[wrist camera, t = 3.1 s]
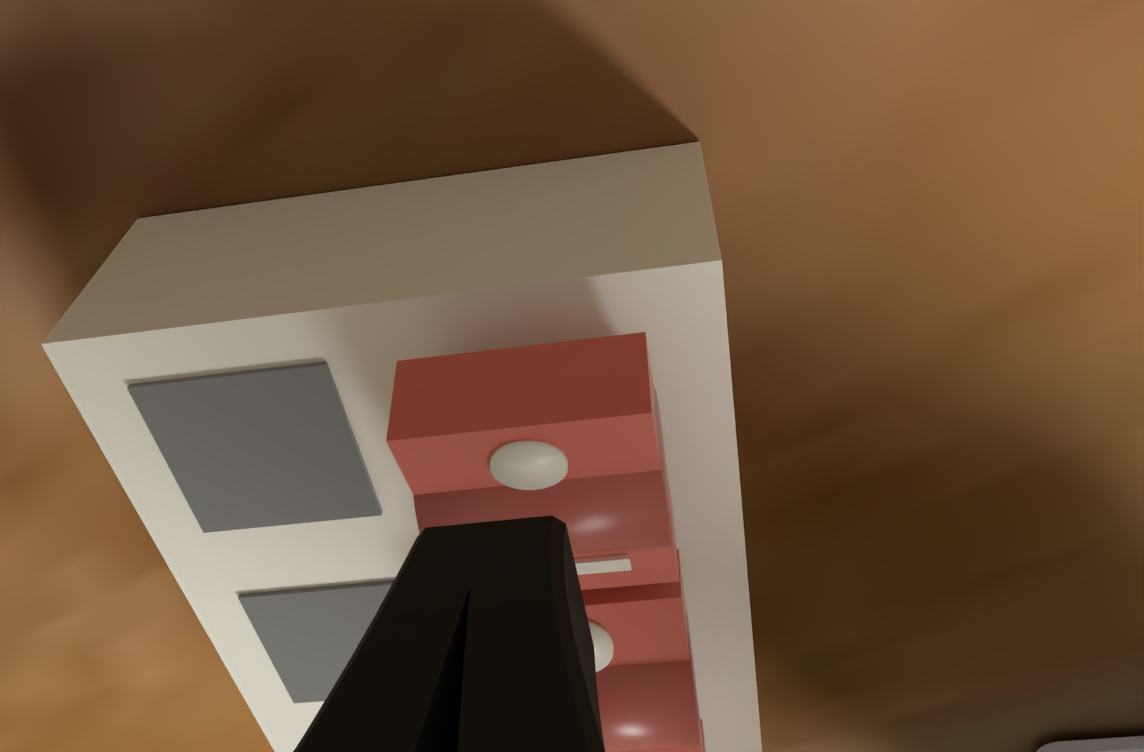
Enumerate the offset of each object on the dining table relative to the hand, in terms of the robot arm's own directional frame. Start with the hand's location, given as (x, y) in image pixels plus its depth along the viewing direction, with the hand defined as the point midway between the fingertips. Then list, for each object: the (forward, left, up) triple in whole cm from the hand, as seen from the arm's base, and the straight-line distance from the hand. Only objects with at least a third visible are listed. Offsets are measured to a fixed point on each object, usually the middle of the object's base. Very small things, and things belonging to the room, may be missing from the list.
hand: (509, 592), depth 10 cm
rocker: (-1, 0, -3) cm, 3 cm away
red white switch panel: (-6, +2, -8) cm, 10 cm away
